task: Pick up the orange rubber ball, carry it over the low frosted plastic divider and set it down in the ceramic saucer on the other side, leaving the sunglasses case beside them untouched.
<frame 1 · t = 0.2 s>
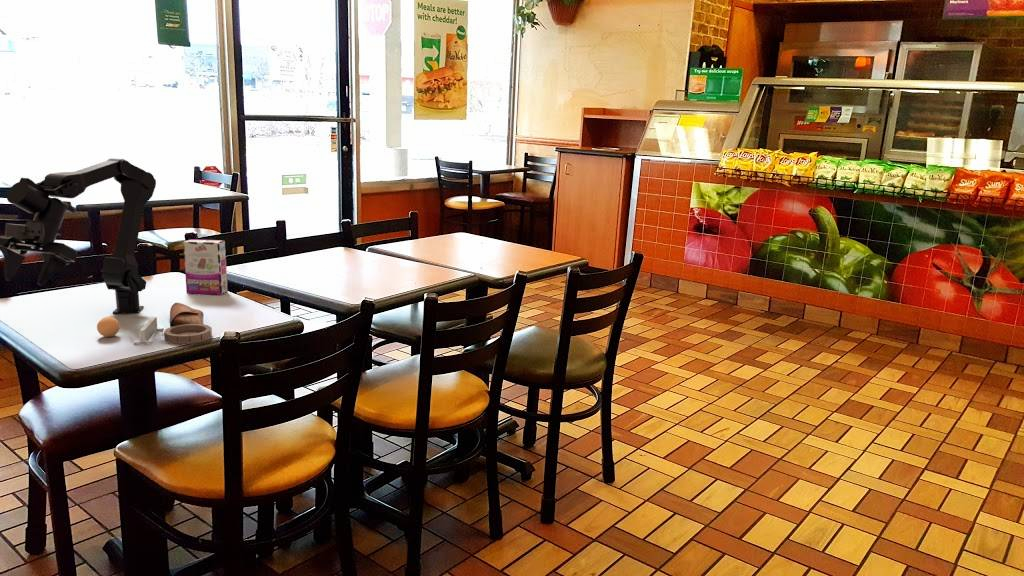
hand: (23, 282, 178), 15 cm above the table, tool tilted 30°, fingers open, 9 cm apart
saucer: (188, 337, 190), on the table
sunglasses case: (187, 323, 202), on the table, touching saucer
divider: (149, 336, 189), on the table
ball: (109, 336, 188), on the table
candy bar box: (207, 293, 233), on the table
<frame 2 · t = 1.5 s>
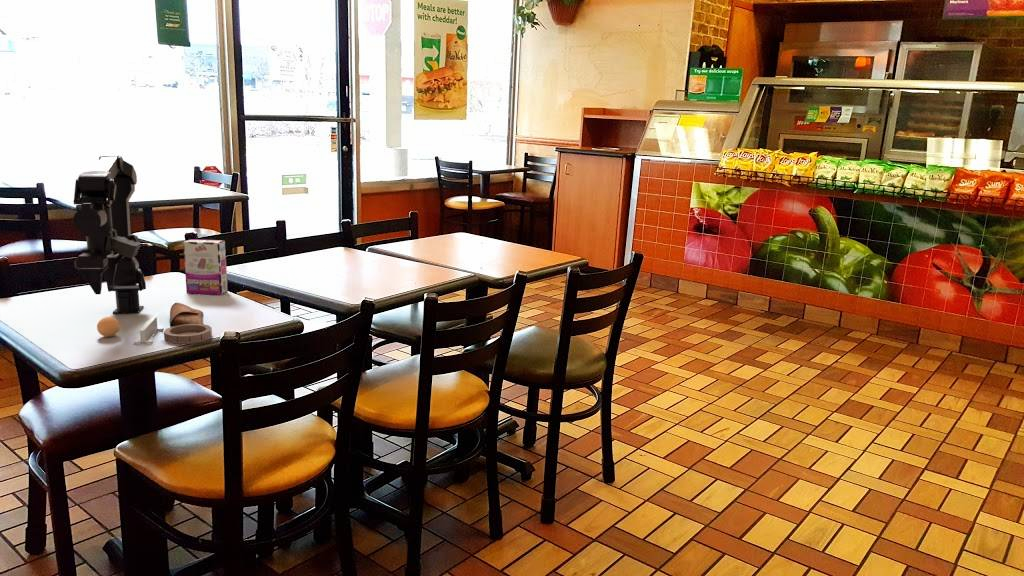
hand: (104, 289, 185), 12 cm above the table, tool pointing down, fingers open, 9 cm apart
nothing on the table moved.
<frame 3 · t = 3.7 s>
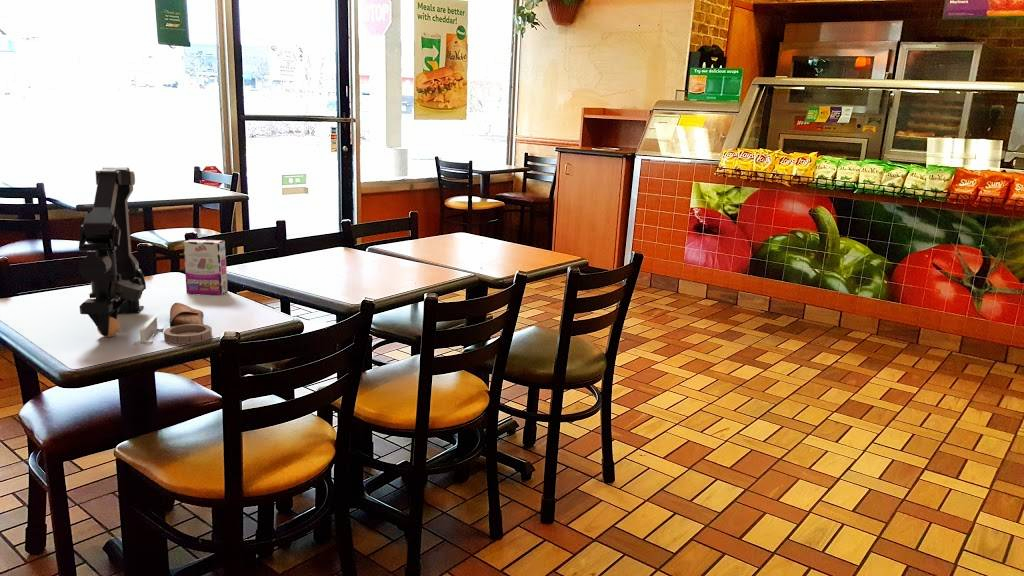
hand: (108, 332, 188), 1 cm above the table, tool pointing down, fingers closed on ball, 5 cm apart
ball: (109, 336, 188), on the table, touching gripper
everything else where it was.
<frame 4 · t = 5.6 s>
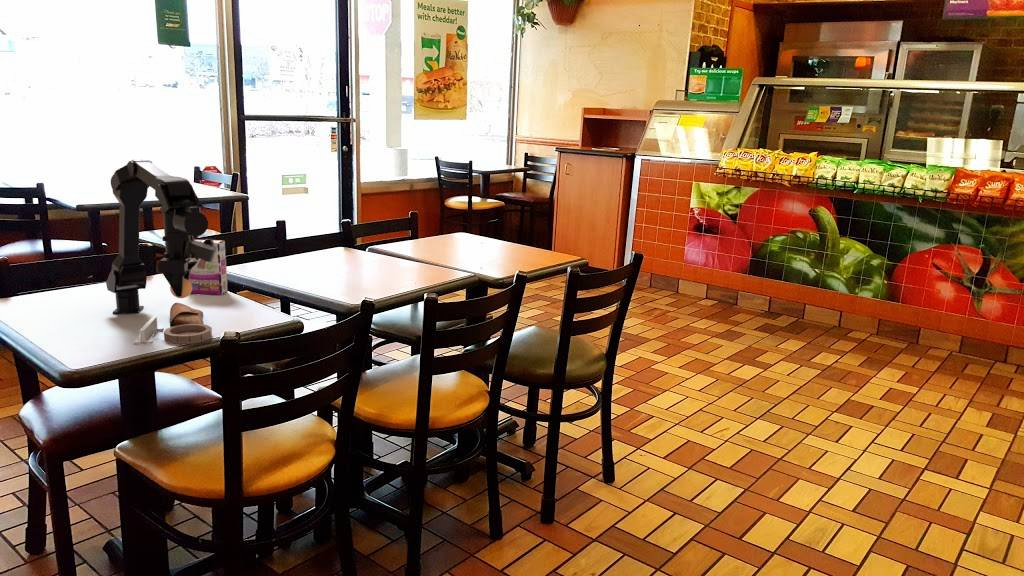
hand: (181, 293, 187), 11 cm above the table, tool pointing down, fingers closed on ball, 5 cm apart
ball: (181, 297, 187), point 10 cm above the table, touching gripper
everything else where it was.
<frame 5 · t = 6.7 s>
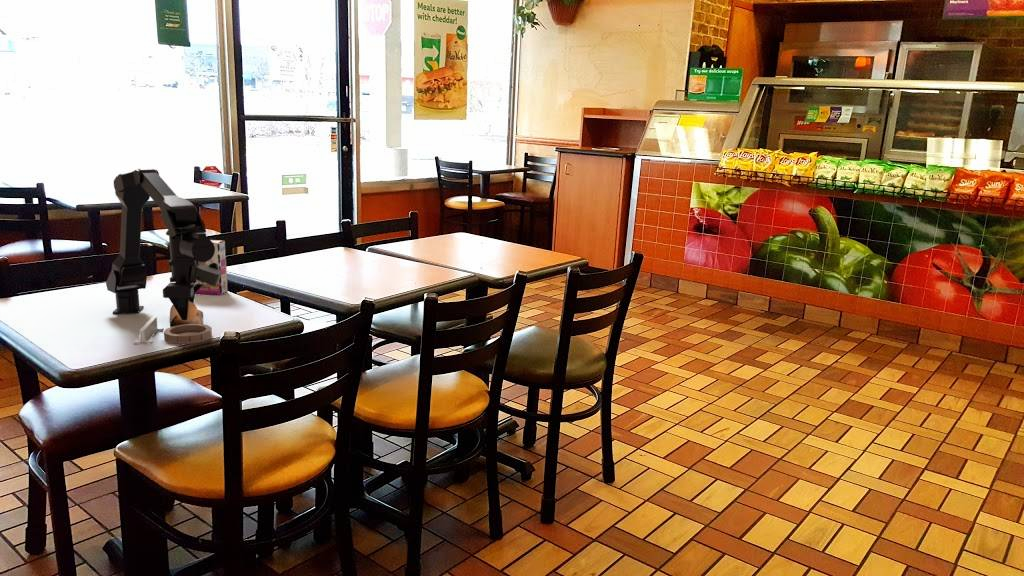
hand: (187, 317, 188), 5 cm above the table, tool pointing down, fingers closed on ball, 5 cm apart
ball: (187, 320, 189), point 4 cm above the table, touching gripper
everything else where it was.
when the fingers open (4 cm above the table, at t = 7.8 s): ball drops 2 cm, resting on saucer.
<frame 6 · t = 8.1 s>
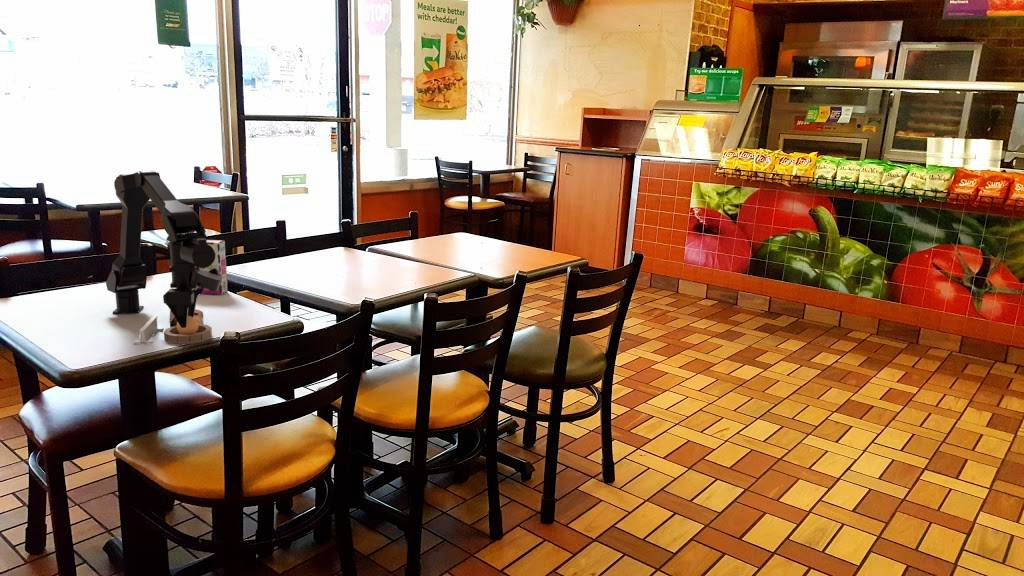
hand: (187, 322, 189), 4 cm above the table, tool pointing down, fingers open, 8 cm apart
ball: (188, 335, 189), point 1 cm above the table, touching saucer
everything else where it was.
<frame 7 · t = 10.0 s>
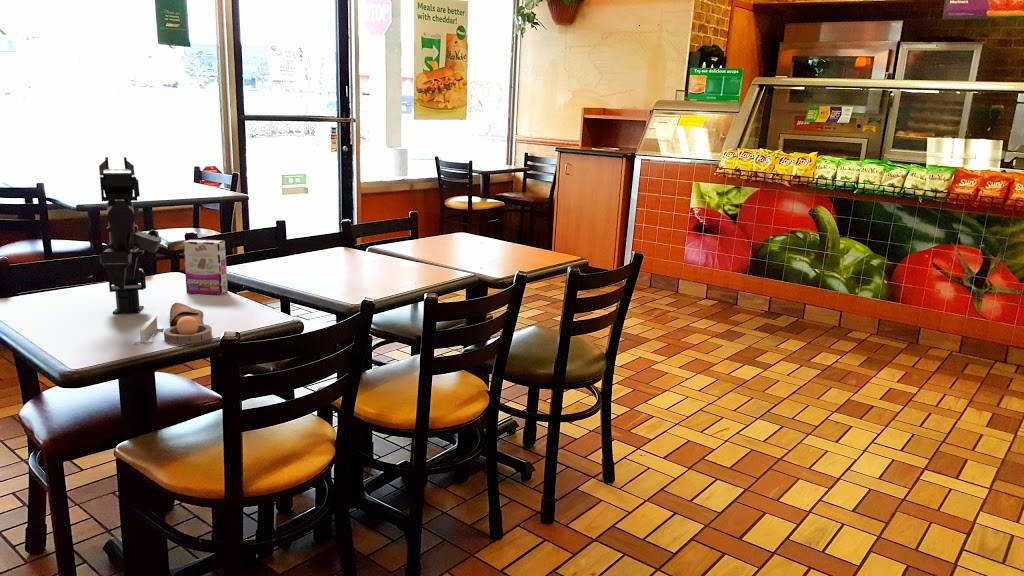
hand: (126, 283, 189), 13 cm above the table, tool pointing down, fingers open, 9 cm apart
nothing on the table moved.
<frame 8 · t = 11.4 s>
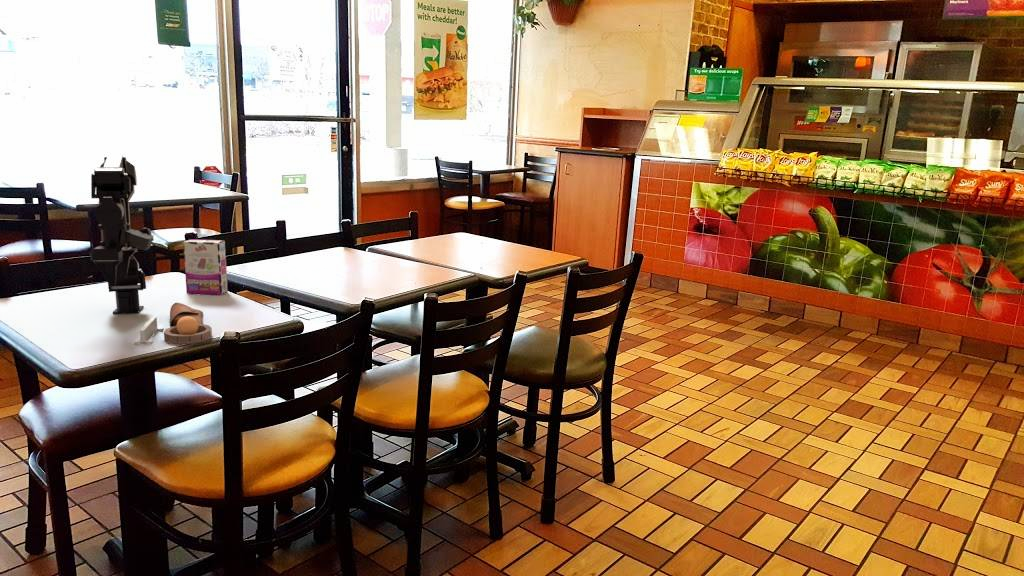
hand: (118, 281, 189), 13 cm above the table, tool pointing down, fingers open, 9 cm apart
nothing on the table moved.
at the end: ball 0.0 cm from the saucer (horizontally); ball point 0.6 cm above the table; the gripper is holding nothing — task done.
